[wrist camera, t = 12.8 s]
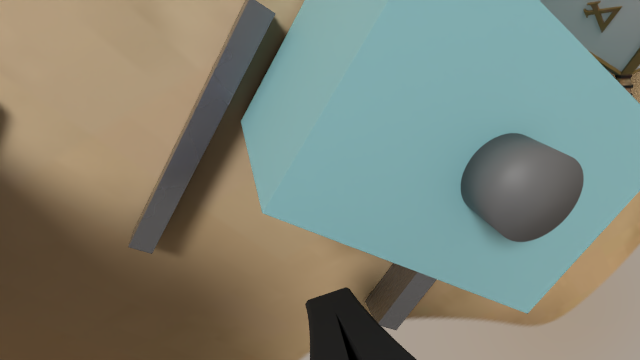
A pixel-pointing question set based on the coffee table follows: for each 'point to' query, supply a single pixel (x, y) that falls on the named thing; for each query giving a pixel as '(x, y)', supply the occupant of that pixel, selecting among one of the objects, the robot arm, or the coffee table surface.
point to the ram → (445, 139)
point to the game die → (604, 32)
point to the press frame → (241, 44)
